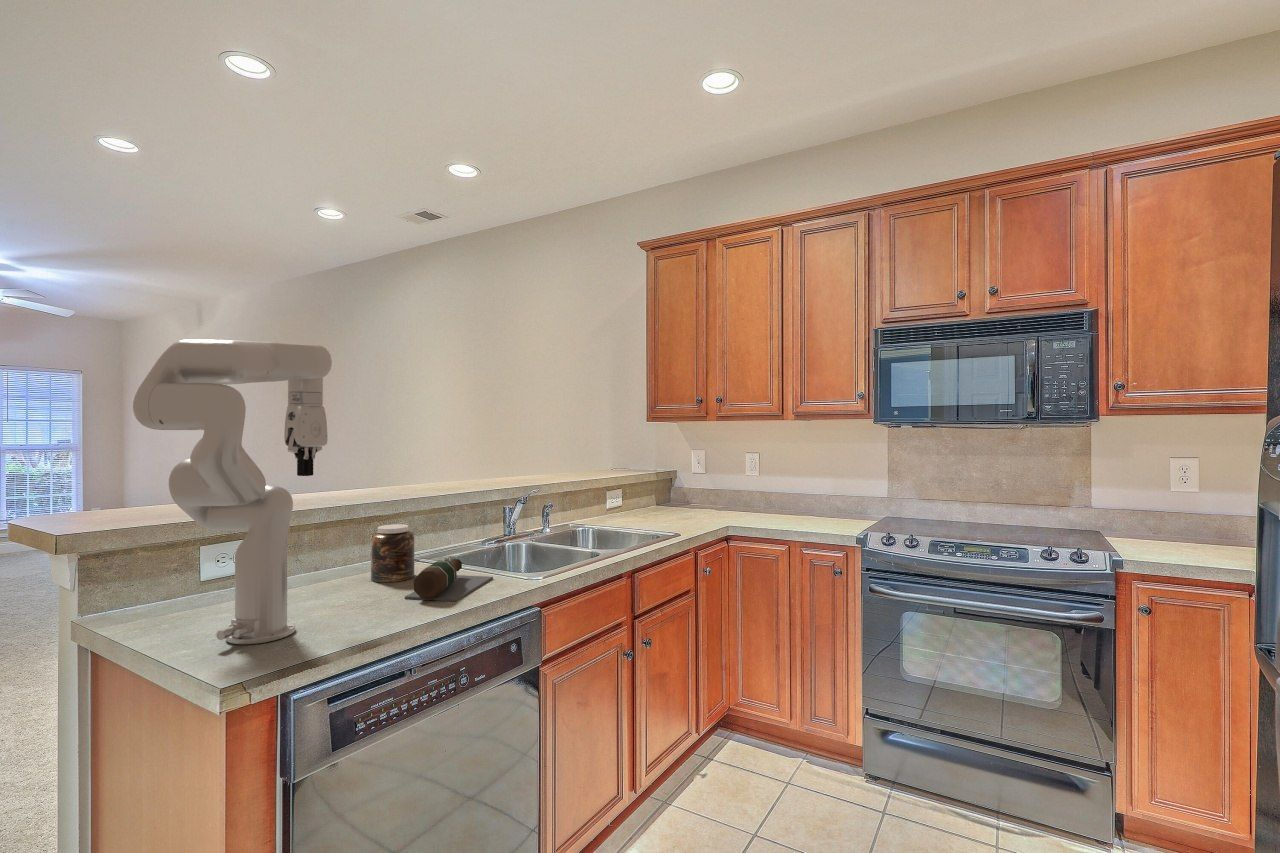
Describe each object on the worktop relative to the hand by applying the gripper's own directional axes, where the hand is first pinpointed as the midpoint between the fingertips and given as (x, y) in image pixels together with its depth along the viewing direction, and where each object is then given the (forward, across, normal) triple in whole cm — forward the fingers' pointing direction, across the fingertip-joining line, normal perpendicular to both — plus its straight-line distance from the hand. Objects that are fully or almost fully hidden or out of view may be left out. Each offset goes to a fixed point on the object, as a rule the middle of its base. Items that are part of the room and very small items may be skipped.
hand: (305, 475), depth 154 cm
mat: (+32, +23, -27) cm, 48 cm away
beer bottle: (+28, +9, -27) cm, 40 cm away
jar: (+32, +31, -5) cm, 45 cm away
